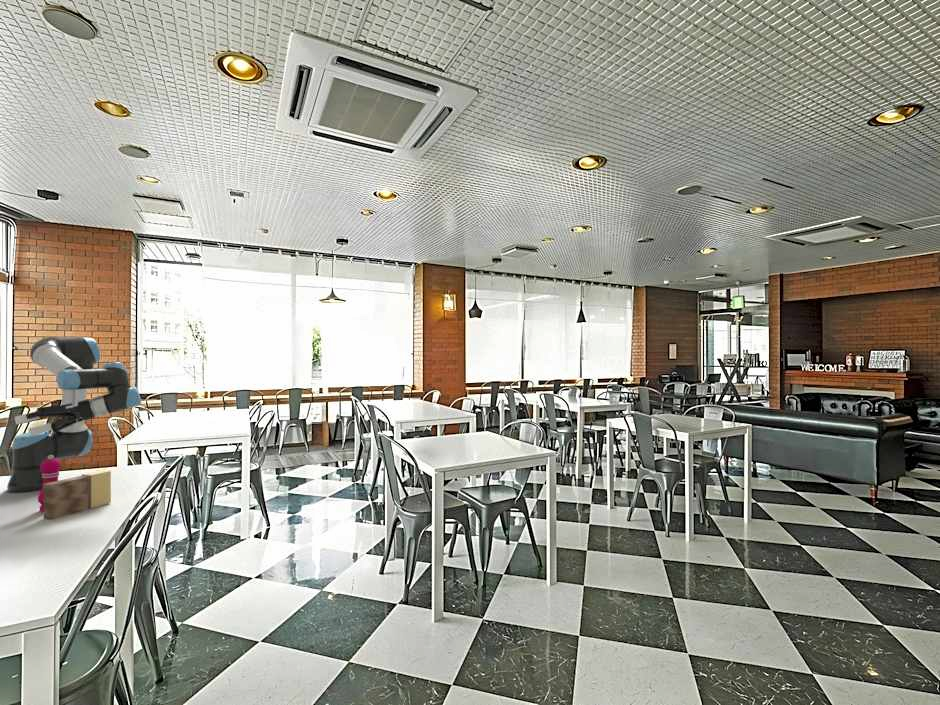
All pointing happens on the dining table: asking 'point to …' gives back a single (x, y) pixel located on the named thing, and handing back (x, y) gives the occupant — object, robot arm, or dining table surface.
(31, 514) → the dining table surface
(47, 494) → the block
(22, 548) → the dining table surface
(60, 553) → the dining table surface
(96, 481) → the stub
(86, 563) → the dining table surface
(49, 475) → the pepper mill
